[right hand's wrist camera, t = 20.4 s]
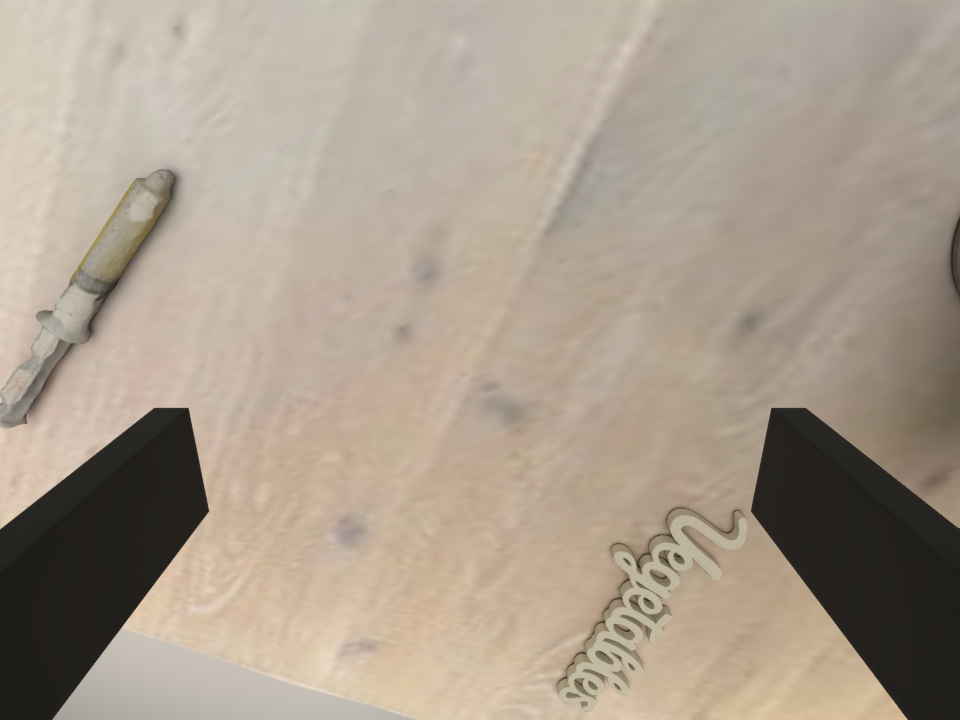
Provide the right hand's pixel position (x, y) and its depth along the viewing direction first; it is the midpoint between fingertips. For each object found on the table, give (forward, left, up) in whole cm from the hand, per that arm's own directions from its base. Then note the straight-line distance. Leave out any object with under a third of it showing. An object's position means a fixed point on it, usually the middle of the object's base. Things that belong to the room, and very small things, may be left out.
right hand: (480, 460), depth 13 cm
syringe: (-4, +30, -31) cm, 43 cm away
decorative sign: (-34, -15, -31) cm, 48 cm away
